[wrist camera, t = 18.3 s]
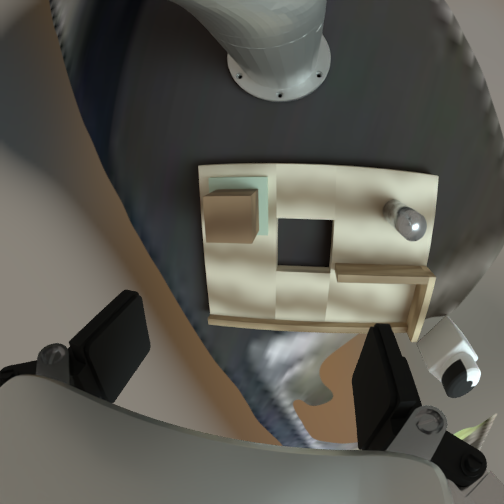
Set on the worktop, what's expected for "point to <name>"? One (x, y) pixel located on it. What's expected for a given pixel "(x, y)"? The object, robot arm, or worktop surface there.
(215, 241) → the walnut cube
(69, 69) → the worktop surface
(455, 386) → the medicine bottle
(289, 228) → the worktop surface
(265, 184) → the pad
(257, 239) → the board
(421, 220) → the grey metal peg
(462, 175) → the worktop surface
